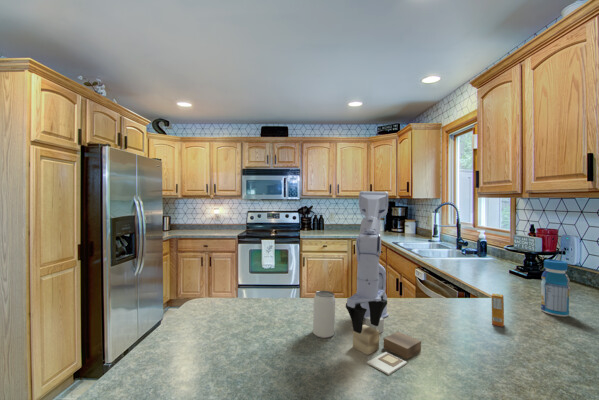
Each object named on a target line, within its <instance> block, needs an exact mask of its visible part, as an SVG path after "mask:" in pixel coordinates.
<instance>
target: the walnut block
mask: <svg viewBox="0 0 599 400" xmlns="http://www.w3.org/2000/svg"><path fill="white" fill-rule="evenodd" d="M383 349H385V350H387V351H390V352H391V353H393V354H396V355H397V356H400V357H402V358H404V359H406V360H408V359H410V358H412V357H413V356H415V355H417V354H418V353H420V352H421V351H422V340H419V339H417V338H414V337H412V336H410V335H407V334H405V333H403V332H400V331H395V332H394V333H392V334H390V335H387V336H385V337H383Z"/></svg>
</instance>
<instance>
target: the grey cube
mask: <svg viewBox="0 0 599 400" xmlns="http://www.w3.org/2000/svg"><path fill="white" fill-rule="evenodd" d="M364 319H365V324H364V325H367V326H369V327H371V328H374V329H376V330H378V331H379V334H382V333H384V330H385V326H384V325H385V319H384V318H380V322H379V325H378V326H375V325H372V324H371V322H370V316H369V317H366V318H364Z"/></svg>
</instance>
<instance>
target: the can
mask: <svg viewBox="0 0 599 400" xmlns="http://www.w3.org/2000/svg"><path fill="white" fill-rule="evenodd" d="M314 294H315V295H314V297H313V311H312V312H313V314H312V316H313V317H312V333H313V334H314V336H315V337H318V338H321V339H329V338H331V337H333V336H334V335H335V323H336V320H335V318H336V297H335V293H334V292H332V291H329V290H318V291H316V292H315V293H314Z"/></svg>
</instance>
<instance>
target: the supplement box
mask: <svg viewBox="0 0 599 400" xmlns="http://www.w3.org/2000/svg"><path fill="white" fill-rule="evenodd" d="M504 303H505V302H504V295H503V294H499V293H492V294H491V325H493V326H497V327H502V328H503V327H504V326H505V309H504V308H505V307H504V306H505V304H504Z"/></svg>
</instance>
